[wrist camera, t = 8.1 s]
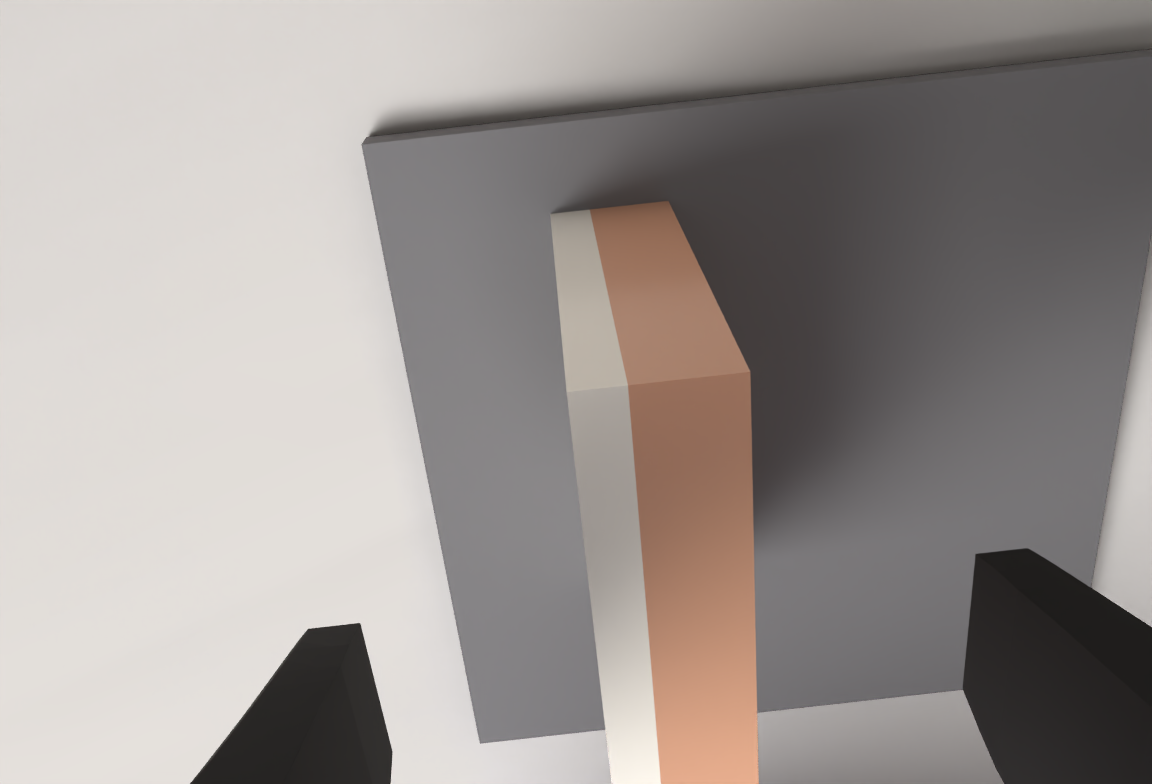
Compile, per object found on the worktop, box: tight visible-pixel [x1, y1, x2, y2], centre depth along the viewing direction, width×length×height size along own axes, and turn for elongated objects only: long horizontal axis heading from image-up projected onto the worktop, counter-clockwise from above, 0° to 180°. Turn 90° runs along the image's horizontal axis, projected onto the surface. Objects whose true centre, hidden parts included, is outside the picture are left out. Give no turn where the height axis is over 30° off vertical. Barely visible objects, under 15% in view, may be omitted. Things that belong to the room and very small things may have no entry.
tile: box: [550, 201, 759, 784], centre depth 14 cm, size 7×2×6 cm, turn 6°
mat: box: [362, 49, 1152, 744], centre depth 17 cm, size 12×12×1 cm
